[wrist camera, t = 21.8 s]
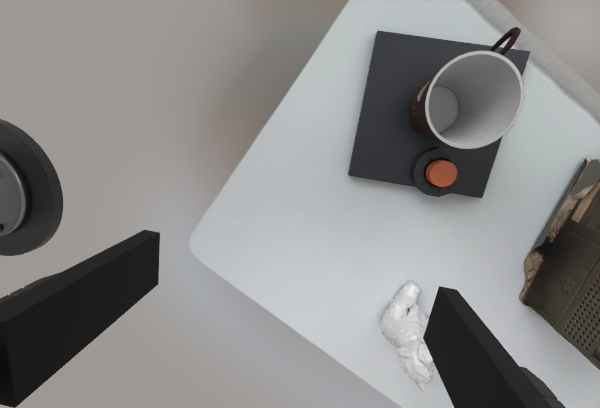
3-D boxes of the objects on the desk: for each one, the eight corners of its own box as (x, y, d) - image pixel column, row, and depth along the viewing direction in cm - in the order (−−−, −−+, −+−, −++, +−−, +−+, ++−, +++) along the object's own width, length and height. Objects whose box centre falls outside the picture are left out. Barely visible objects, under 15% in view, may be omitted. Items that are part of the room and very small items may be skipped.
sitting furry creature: (446, 322, 44) (487, 389, 32) (398, 347, 46) (421, 419, 34) (412, 276, 43) (443, 329, 31) (364, 304, 45) (376, 364, 33)
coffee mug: (420, 158, 37) (451, 166, 28) (387, 100, 36) (408, 88, 27) (507, 106, 35) (574, 96, 25) (475, 43, 34) (533, 6, 24)
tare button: (422, 182, 37) (426, 184, 35) (429, 157, 36) (433, 159, 34) (447, 186, 37) (453, 189, 35) (454, 162, 36) (460, 163, 34)
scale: (347, 178, 40) (348, 181, 37) (376, 33, 36) (380, 25, 33) (476, 200, 39) (488, 205, 36) (523, 54, 34) (541, 46, 32)
